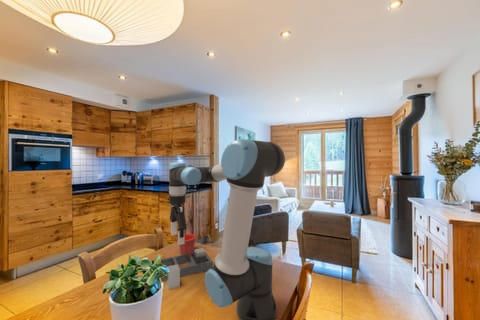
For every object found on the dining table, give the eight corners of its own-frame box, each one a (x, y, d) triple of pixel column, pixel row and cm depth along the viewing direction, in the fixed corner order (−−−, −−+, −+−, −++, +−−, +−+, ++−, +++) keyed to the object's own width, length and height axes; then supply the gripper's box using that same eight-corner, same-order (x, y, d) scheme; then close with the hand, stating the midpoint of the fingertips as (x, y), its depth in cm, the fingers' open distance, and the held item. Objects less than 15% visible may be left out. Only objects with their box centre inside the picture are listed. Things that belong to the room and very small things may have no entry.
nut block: (179, 286, 95) (179, 269, 95) (168, 289, 93) (168, 271, 93) (177, 281, 100) (177, 264, 100) (166, 283, 97) (166, 266, 97)
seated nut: (205, 266, 114) (205, 251, 114) (196, 268, 112) (196, 253, 112) (202, 262, 118) (203, 248, 118) (194, 264, 116) (194, 249, 116)
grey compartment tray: (212, 269, 110) (212, 261, 110) (158, 282, 98) (158, 273, 98) (204, 257, 124) (204, 250, 124) (155, 267, 112) (155, 260, 112)
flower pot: (175, 256, 125) (175, 239, 125) (181, 248, 136) (181, 233, 136) (193, 256, 125) (193, 240, 125) (197, 248, 136) (197, 233, 136)
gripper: (193, 198, 91) (193, 246, 91) (178, 191, 113) (178, 230, 112) (176, 199, 87) (175, 250, 87) (163, 192, 109) (163, 233, 109)
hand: (177, 239), depth 100 cm, fingers open, 13 cm apart
